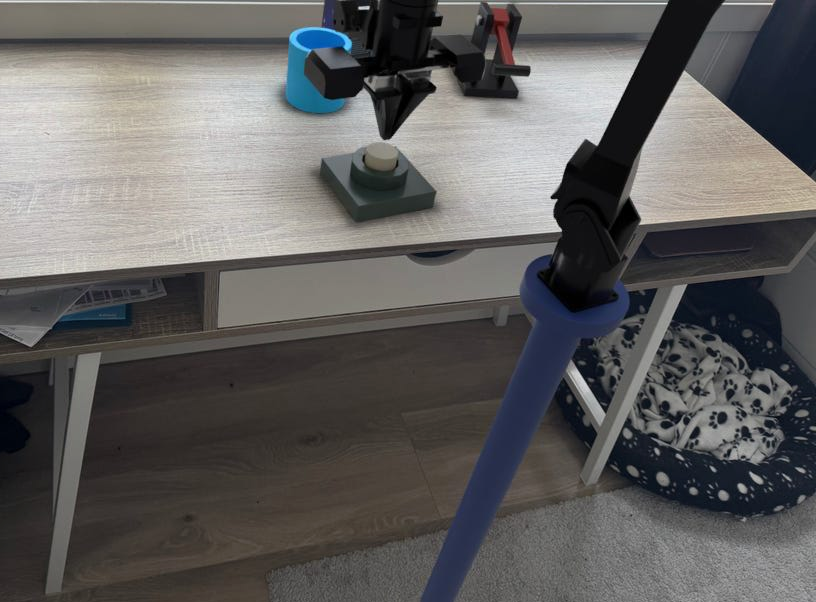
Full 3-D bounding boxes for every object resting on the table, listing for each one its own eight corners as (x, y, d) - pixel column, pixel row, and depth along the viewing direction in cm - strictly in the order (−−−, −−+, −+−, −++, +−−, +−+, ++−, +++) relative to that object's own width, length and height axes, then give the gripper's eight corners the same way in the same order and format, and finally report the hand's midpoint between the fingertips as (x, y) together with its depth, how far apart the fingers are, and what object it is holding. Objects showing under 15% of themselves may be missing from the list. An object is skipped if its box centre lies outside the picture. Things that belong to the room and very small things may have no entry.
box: (318, 47, 113) (325, -26, 105) (350, 43, 115) (359, -29, 107) (343, 70, 108) (351, -4, 100) (375, 65, 110) (386, -8, 103)
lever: (526, 81, 100) (532, 67, 98) (491, 79, 99) (496, 65, 97) (510, 23, 106) (515, 9, 104) (476, 21, 105) (481, 6, 103)
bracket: (516, 98, 107) (538, 25, 100) (464, 95, 106) (482, 21, 99) (499, 67, 114) (518, -3, 107) (449, 64, 113) (465, -7, 106)
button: (401, 169, 83) (403, 156, 82) (373, 174, 82) (375, 161, 81) (386, 153, 85) (388, 140, 84) (359, 157, 84) (361, 144, 83)
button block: (433, 207, 85) (440, 178, 82) (356, 222, 81) (360, 192, 78) (392, 161, 91) (398, 132, 88) (319, 173, 87) (322, 144, 85)
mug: (354, 109, 100) (362, 51, 94) (299, 116, 97) (303, 57, 91) (319, 69, 107) (325, 13, 102) (267, 74, 104) (269, 17, 99)
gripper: (447, -39, 79) (421, 94, 90) (287, -31, 72) (279, 113, 83) (506, 1, 72) (469, 140, 83) (335, 15, 65) (319, 165, 76)
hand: (384, 138), depth 81 cm, fingers closed
